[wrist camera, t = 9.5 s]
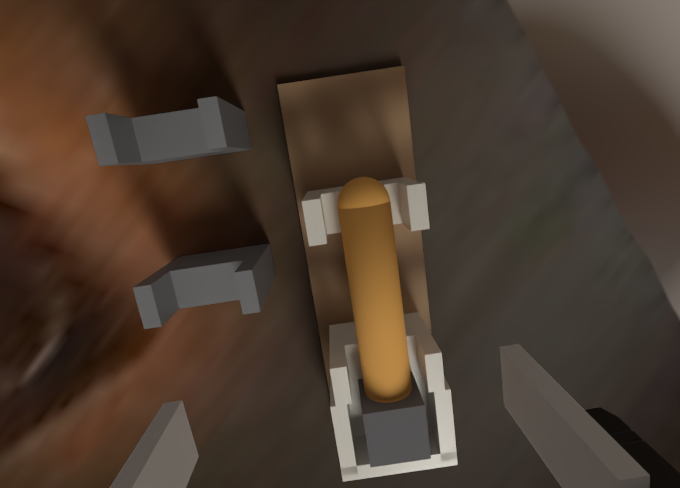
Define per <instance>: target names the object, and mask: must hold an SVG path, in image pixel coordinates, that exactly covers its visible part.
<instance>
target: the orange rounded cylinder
mask: <svg viewBox="0 0 680 488" xmlns="http://www.w3.org/2000/svg"><path fill="white" fill-rule="evenodd" d="M337 205H338V213H339V220H340V227H341V234H342V241H343V247H344V254H345V261H346V268H347V275H348V281H349V288H350V295H351V302H352V308H353V315H354V322H355V329H356V336H357V342H358V349H359V356H360V363H361V370H362V376H363V379H358V385H359V392H360V400H361V407H362V415H363V421H364V428H365V434H366V441H367V448H368V454H369V461H370V468H371V467H378V466H385V465H391V464H398V463H405V462H412V461H419V460H426V459H431V454H430V445H429V436H428V427H427V418H426V409H425V404H424V401H423V398H422V396H421V393H420V391H419V388H418V386H417V383H416V381H415V378H414V375H413V373H412V371H411V372H410V364H409V356H408V347H407V339H406V330H405V322H404V313H403V305H402V296H401V287H400V279H399V270H398V262H397V253H396V245H395V236H394V228H393V219H392V210H391V202H390V197H389V194H388V191H387V190H386V188H385V187H384V185H383V184H381V183H380V182H379V181H377V180H376V179H373V178H370V177H358V178H355V179H353V180H350V181H349V182H348V183H346V184H345V186H344V187H343V188H342V190H341V191H340V193H339V196H338V201H337Z"/></svg>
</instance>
